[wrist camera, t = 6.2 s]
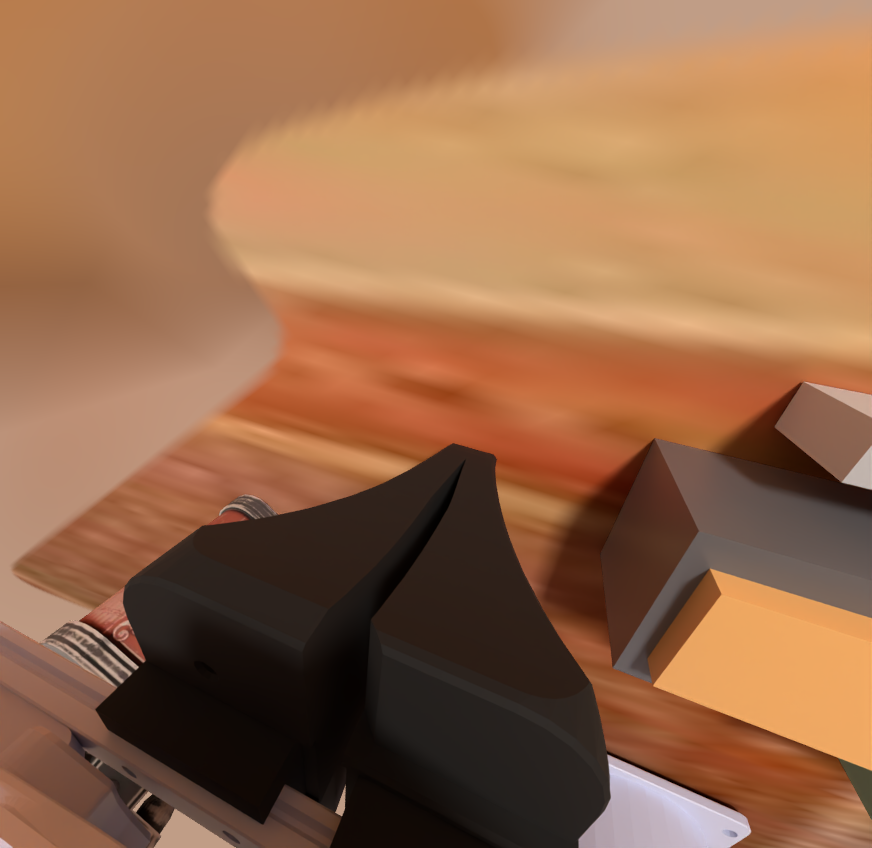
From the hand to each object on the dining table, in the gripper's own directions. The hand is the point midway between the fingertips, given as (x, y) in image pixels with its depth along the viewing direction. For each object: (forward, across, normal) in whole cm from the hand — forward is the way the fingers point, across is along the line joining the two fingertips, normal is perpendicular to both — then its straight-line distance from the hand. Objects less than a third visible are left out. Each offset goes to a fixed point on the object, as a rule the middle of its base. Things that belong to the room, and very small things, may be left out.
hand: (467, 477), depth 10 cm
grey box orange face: (+2, -8, 0) cm, 8 cm away
